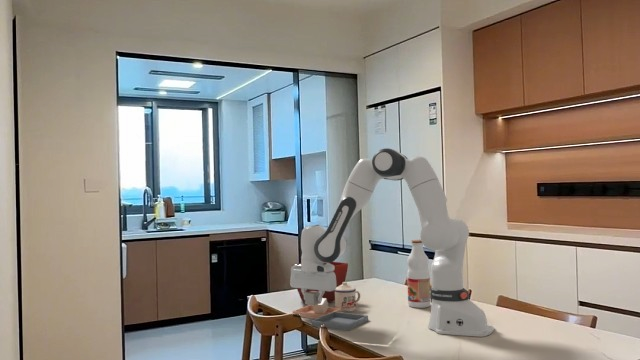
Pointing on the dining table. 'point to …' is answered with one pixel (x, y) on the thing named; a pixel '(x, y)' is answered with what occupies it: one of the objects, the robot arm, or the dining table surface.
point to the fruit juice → (418, 277)
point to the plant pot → (340, 278)
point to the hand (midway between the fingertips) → (313, 300)
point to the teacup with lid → (346, 297)
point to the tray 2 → (340, 320)
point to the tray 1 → (309, 312)
